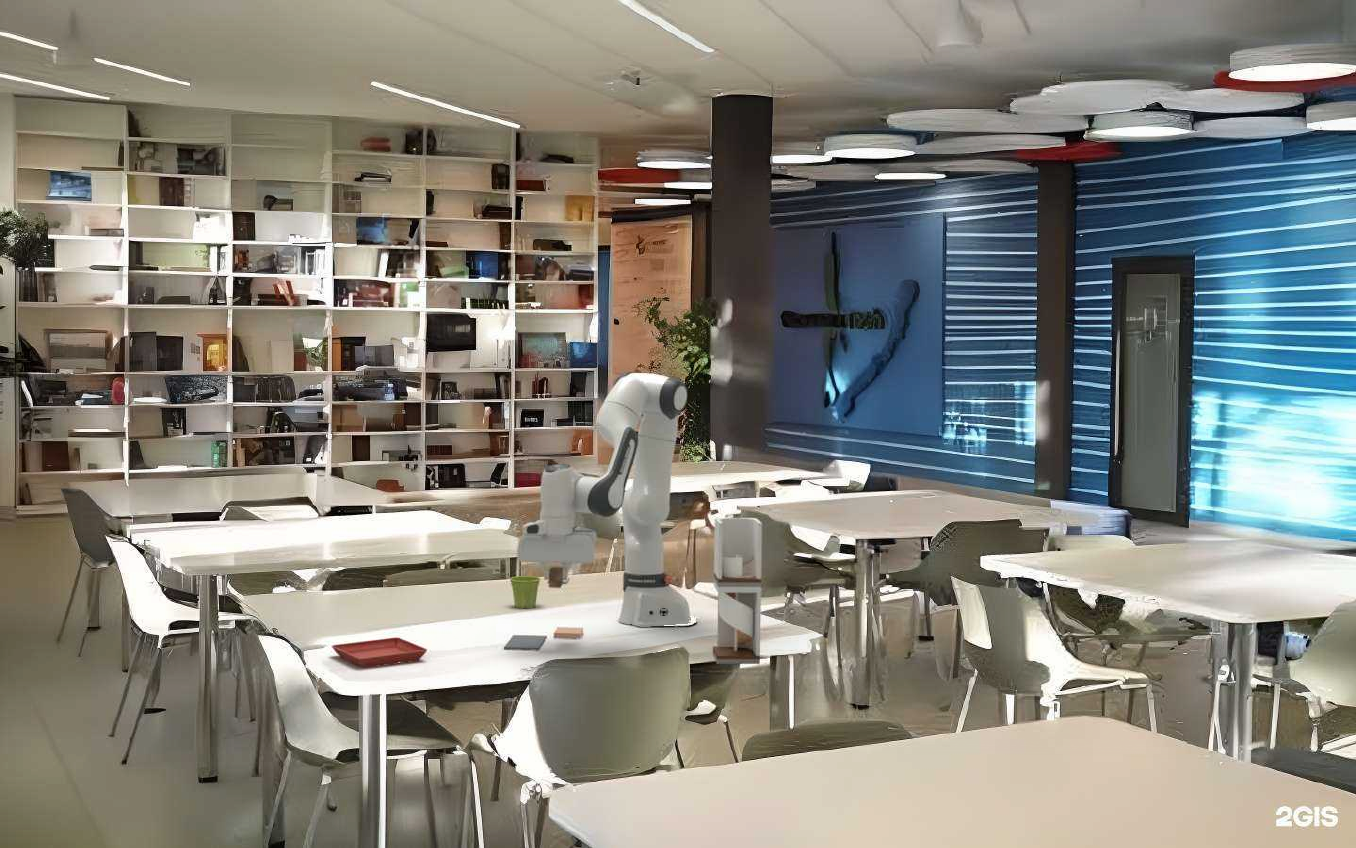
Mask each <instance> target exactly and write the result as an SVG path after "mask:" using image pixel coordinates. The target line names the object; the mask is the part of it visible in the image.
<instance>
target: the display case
mask: <svg viewBox="0 0 1356 848" xmlns="http://www.w3.org/2000/svg"><path fill="white" fill-rule="evenodd" d="M713 538H714V539H713V540H714V544H713V545H714V546H713V547H714V548H713V554H714V555H713V586H714V588H715V589H716V592H717V636H716V637H717V643H716V646H715V645H712V656H713V658H714V661H715V662H716V665H746V664H747V665H760V664H761V661H760V660H761V615H762V614H761V609H762V608H761V606H762V605H761V604H762V559H763V558H762V553H763V549H762V548H763V547H762V545H763V541H762V540H763V539H762V538H763V522H761V521H760V520H759V519H758V518H757V517H714V537H713Z"/></svg>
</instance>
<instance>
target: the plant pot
mask: <svg viewBox="0 0 1356 848" xmlns="http://www.w3.org/2000/svg"><path fill="white" fill-rule="evenodd" d="M541 580H542V578H541V577H539V576H532V575H524V576H523V575H522V576H520V575H519V576H512V577H510V578H509V581H510V583H511V586H512V593H513V600H514V606H515V608H517V609H524V608H526V609H531V608H532V609H533V608H535V607H536V605H537V598H538V597H537V596H538V591H539V590H538V589H539V585H540V582H541Z"/></svg>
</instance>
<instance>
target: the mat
mask: <svg viewBox="0 0 1356 848" xmlns="http://www.w3.org/2000/svg"><path fill="white" fill-rule="evenodd" d="M545 639H546V640H547V639H548V637H547V635H532V634H531V635H529V634H528V635H523V634H522V635H521V634H519V635H518V634H517V635H516V634H513V635H512V636H511V637H510V639H508V641H507V643H506V644H505V645H504V647H503V650H504V649H509V650H510V649H512V651H513V649H522V650H521V651H539V650H541V648H542V646H543V644H544V643H545V641H546V640H545ZM540 647H541V648H540ZM531 649H533V650H531ZM534 649H535V650H534Z"/></svg>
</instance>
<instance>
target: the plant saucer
mask: <svg viewBox="0 0 1356 848" xmlns="http://www.w3.org/2000/svg"><path fill="white" fill-rule="evenodd" d="M331 648H332V649H333V650H334V652H335V653H336V654H337V655H338V656H339V657H340V658H342V659H344V660H347V661H348V662H351V663H352V664H354V665H356V666H359V667H361V668H372V667H371V666H373V667H378V666H377V665H381V666H385V665H384V664H389V665H393V664H392V663H397V664H399V663H398V662H405V663H410V662H409V661H413V662H417V661H416V660H418V661H419V660H420V659H421V658H422V657H423V656H424V655H425V654H426V653H427V651H428V649H427V648H426V647H425V648H424V647H423V646H420V645H418V644H416V643H413V642H411V641H408V640H406V639H403V638H400V637H388V638H381V639H380V638H379V639H372V640H365V641H356V642H347V643H340V644H339V643H337V644H333V645H331Z"/></svg>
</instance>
